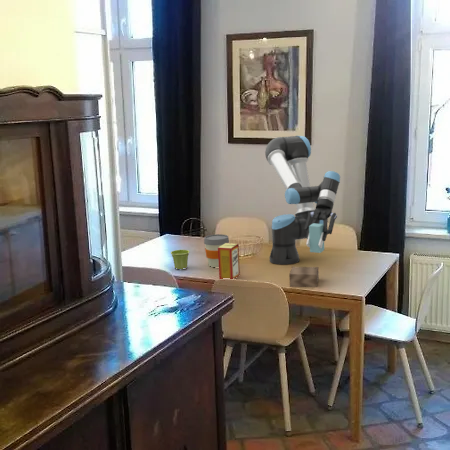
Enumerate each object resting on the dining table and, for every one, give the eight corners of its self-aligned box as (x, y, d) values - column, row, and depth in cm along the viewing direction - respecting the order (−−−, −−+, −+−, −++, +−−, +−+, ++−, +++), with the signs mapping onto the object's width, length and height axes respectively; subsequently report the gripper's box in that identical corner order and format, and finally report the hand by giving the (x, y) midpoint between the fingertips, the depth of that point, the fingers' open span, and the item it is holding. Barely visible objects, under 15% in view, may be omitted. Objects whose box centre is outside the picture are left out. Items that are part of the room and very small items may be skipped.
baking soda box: (232, 280, 297) (230, 247, 293) (219, 279, 299) (217, 246, 296) (239, 275, 305) (238, 242, 302) (227, 274, 308) (225, 242, 304)
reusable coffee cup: (201, 268, 320) (200, 239, 317) (210, 261, 331) (209, 233, 328) (225, 269, 316) (223, 240, 313) (233, 263, 327) (232, 234, 324)
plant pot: (193, 266, 324) (192, 249, 323) (186, 271, 316) (185, 254, 314) (176, 265, 328) (175, 249, 326) (168, 270, 319) (167, 253, 317)
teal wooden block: (309, 252, 285) (308, 226, 282) (314, 248, 290) (313, 223, 287) (320, 252, 283) (319, 226, 280) (324, 249, 287) (323, 224, 284)
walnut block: (289, 287, 284) (289, 274, 283) (292, 279, 296) (292, 266, 294) (316, 287, 282) (316, 274, 280) (318, 279, 293) (318, 267, 292)
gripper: (346, 207, 291) (335, 251, 281) (309, 205, 299) (297, 248, 290) (342, 198, 285) (331, 243, 275) (304, 196, 294) (292, 240, 284)
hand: (313, 246), depth 282 cm, fingers closed on teal wooden block, 5 cm apart
